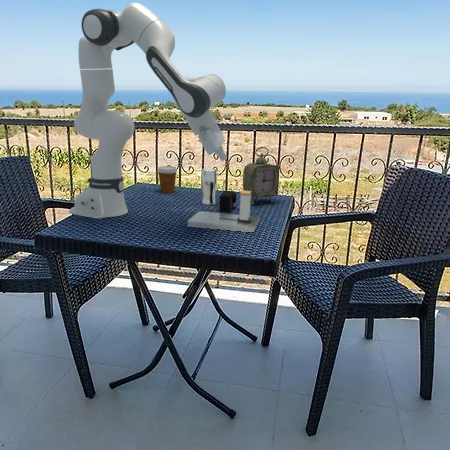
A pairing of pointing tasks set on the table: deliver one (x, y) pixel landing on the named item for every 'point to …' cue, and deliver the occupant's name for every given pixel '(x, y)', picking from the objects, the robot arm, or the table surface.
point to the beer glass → (209, 185)
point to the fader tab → (245, 206)
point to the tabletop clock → (261, 178)
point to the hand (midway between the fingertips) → (224, 159)
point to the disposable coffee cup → (167, 178)
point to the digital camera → (227, 201)
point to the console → (222, 222)
